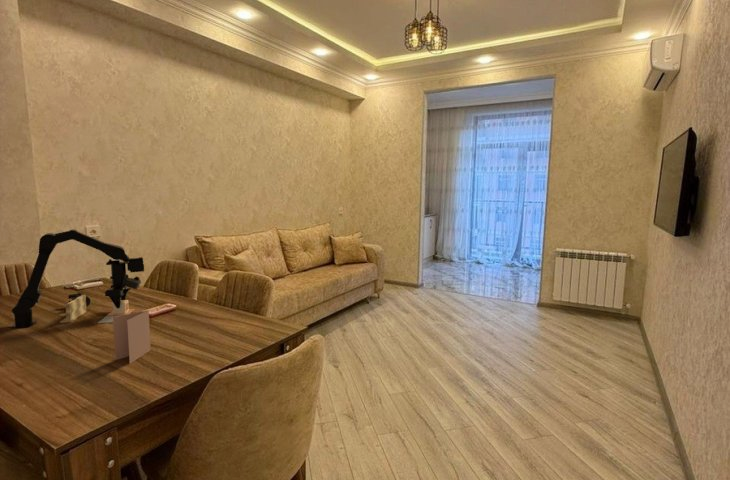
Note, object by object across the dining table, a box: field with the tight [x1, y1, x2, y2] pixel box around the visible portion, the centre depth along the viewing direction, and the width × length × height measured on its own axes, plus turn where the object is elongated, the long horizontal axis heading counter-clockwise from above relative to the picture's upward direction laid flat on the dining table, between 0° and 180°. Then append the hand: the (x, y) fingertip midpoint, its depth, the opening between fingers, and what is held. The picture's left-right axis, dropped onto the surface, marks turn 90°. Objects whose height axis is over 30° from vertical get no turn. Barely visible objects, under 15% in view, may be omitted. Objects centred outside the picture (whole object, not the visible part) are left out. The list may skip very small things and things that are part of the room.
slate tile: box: [97, 315, 123, 325], centre depth 176 cm, size 9×9×1 cm
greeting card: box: [112, 309, 152, 364], centre depth 137 cm, size 11×7×15 cm, turn 141°
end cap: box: [67, 291, 91, 308], centre depth 192 cm, size 10×7×7 cm
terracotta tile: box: [106, 308, 136, 316], centre depth 185 cm, size 9×9×1 cm
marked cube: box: [112, 299, 130, 314], centre depth 185 cm, size 5×5×5 cm
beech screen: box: [59, 294, 88, 324], centre depth 178 cm, size 16×4×8 cm, turn 14°
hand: (120, 306), depth 185 cm, fingers open, 6 cm apart
